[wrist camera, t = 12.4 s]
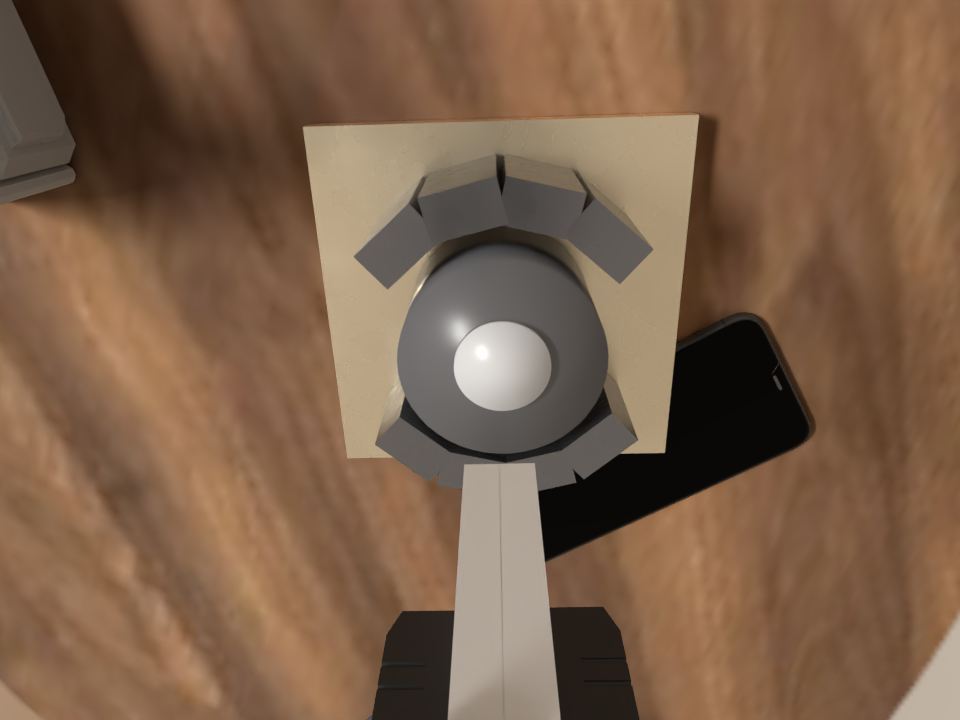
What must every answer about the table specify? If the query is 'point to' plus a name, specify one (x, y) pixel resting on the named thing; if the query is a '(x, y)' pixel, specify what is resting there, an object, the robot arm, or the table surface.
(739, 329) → the smartphone
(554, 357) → the dark grey rounded knob
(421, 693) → the robot arm
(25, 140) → the camera
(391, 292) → the plate with grey arcs
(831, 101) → the table surface
